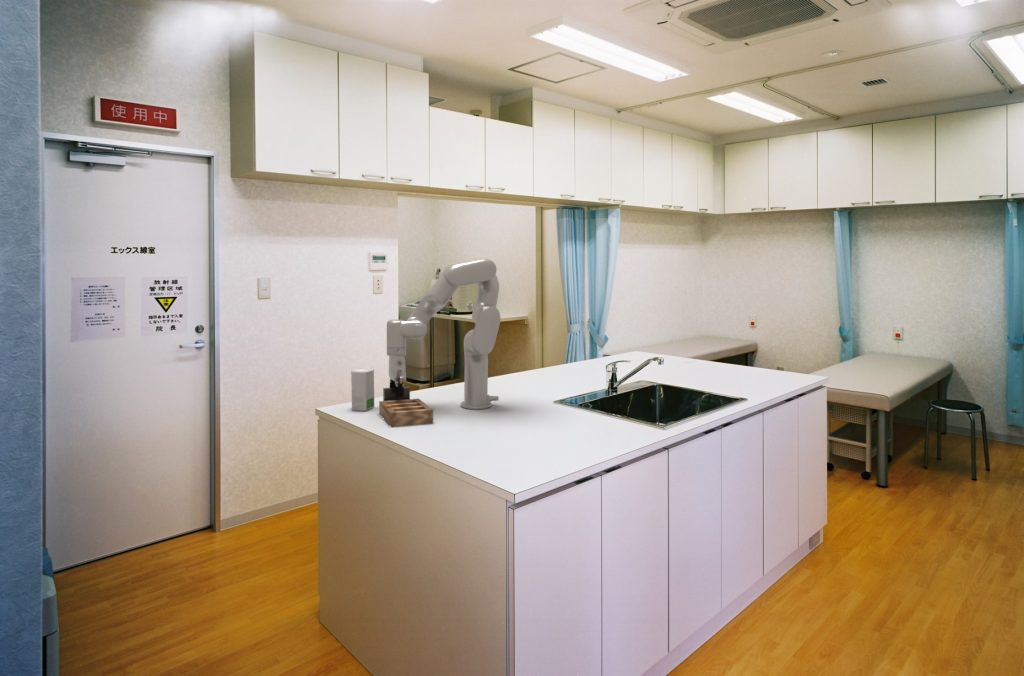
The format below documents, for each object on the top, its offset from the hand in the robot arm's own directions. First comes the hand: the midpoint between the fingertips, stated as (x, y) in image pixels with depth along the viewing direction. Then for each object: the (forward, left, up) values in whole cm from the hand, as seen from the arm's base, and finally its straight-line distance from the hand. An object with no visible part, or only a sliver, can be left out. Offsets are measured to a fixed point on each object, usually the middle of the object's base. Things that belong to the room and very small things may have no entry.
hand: (396, 394), depth 241 cm
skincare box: (+12, -6, -7) cm, 15 cm away
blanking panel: (0, 0, -6) cm, 6 cm away
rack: (0, +15, -6) cm, 16 cm away
